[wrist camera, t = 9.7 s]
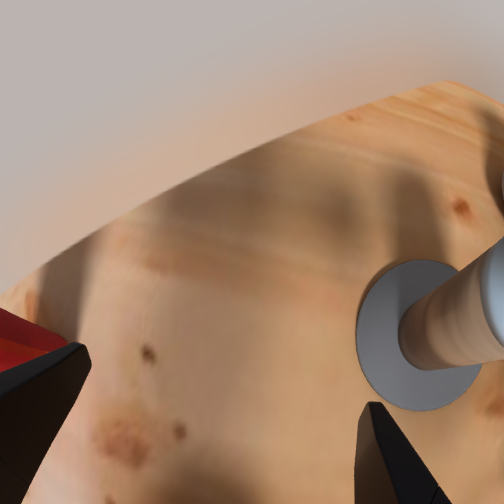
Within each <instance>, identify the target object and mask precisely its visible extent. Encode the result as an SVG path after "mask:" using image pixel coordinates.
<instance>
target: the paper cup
mask: <svg viewBox="0 0 504 504" xmlns="http://www.w3.org/2000/svg"><path fill="white" fill-rule="evenodd" d="M66 345H68V343H67V342H66V340H65V339H64V338H62V337H61V336H60V335H58V334H56V333H54V332H51V331H49V330H47V329H45V328H43V327H40V326H38V325H36V324H34V323H31V322H29V321H27V320H25V319H23V318H20V317H18V316H16V315H14V314H12V313H10V312H8V311H6V310H4V309H2V308H0V372H2V371H5V370H7V369H10V368H12V367H15V366H17V365H20V364H22V363H24V362H27V361H29V360H32V359H34V358H37V357H39V356H41V355H44V354H46V353H49V352H51V351H54V350H56V349H58V348H61V347H63V346H66Z"/></svg>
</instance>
